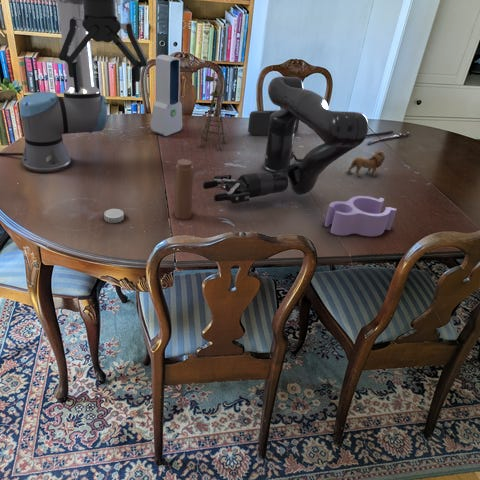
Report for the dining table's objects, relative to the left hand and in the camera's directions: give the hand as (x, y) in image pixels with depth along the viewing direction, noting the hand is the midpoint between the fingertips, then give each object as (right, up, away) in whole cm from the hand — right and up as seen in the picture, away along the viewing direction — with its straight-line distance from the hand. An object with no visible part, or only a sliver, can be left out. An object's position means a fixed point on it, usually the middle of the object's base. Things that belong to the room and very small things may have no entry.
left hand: (106, 93), depth 115 cm
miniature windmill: (+22, +2, +73) cm, 76 cm away
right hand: (+24, -22, +24) cm, 41 cm away
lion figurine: (+80, -11, +62) cm, 102 cm away
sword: (+101, +10, +98) cm, 141 cm away
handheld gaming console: (+48, +10, +90) cm, 102 cm away
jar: (+16, -29, +24) cm, 41 cm away
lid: (-3, -29, +19) cm, 35 cm away
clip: (+69, -32, +28) cm, 81 cm away
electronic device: (+2, +9, +81) cm, 81 cm away
